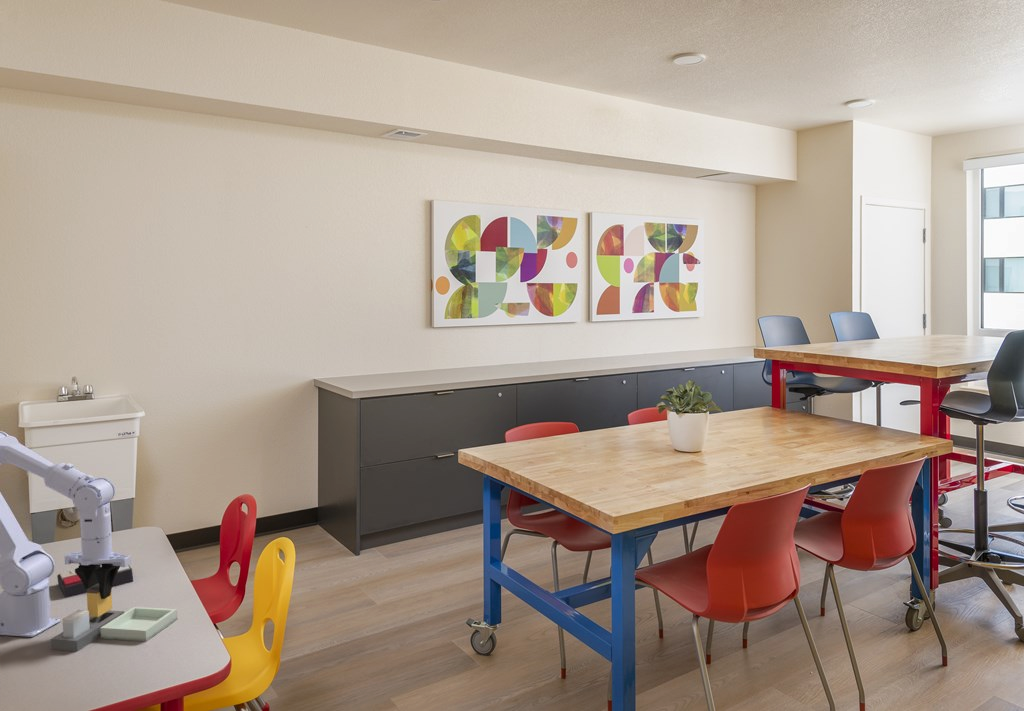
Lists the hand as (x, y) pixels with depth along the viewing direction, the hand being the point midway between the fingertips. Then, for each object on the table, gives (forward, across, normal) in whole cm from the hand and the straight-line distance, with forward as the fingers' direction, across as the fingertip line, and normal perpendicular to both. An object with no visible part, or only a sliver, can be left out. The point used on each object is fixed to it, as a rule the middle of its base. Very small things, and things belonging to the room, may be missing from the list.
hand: (99, 596), depth 154 cm
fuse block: (+7, 0, -4) cm, 8 cm away
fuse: (+7, 0, -7) cm, 10 cm away
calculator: (+8, -20, +22) cm, 31 cm away
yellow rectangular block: (+3, 0, 0) cm, 3 cm away
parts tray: (+7, +9, 0) cm, 11 cm away
